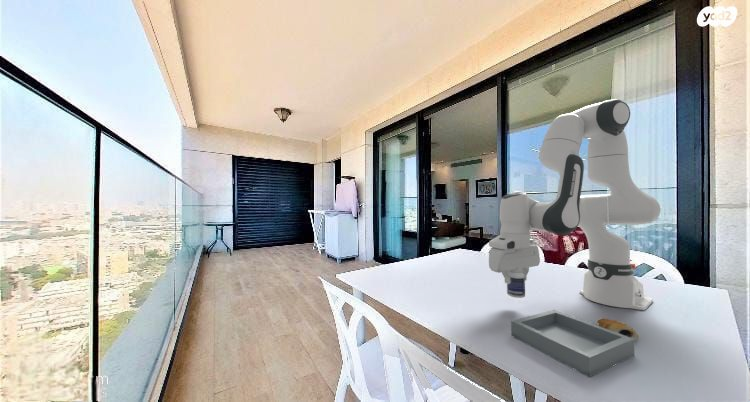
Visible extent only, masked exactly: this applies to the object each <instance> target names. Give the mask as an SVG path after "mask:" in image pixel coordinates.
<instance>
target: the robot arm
mask: <svg viewBox="0 0 750 402" xmlns="http://www.w3.org/2000/svg"><path fill="white" fill-rule="evenodd" d="M630 118H631V109H630V107H629V105H628V104H627V103H626V102H625V101H624V100H621V99H618V98H617V99H616V98H615V99H608V100H607V99H606V100H604V101H602V102H598V103H594V104H591V105H586V106H584V107H582V108H580V109H577V110H575V111H573V112H570V113H565V114H561V115H559V116H557V117H555V118H554V119H553V121H552V122H551V124H550V126H548V129H547V131H546V132H545V134H544V138H543V140H542V142H541V146H540V149H539V153H538V159H539V161H540V163H541V164H542V166H544V167H545V168H546V169H549V170H551V171H553V172H557V173H558V175H559V180H558V187H557V188H558V189H557V193H556V194H557V195H556V197H555V199H554V200H553V201H551V202H550V201H549V202H547V201H545V202H544V201H543V202H542V201H539V200H535V199H533V198H531V197H530V196H528V194H527V193H526V192H523V191H522V192H521V191H520V192H512V193H508V194H507V193H506V194H505V195H503V196H502V197H501V200H500V203H499V221H500V228H499V229H500V230H499V231H500V232H499V235H497V236H496V237H493V238H492V239H490V240H489V242H488V246H489V247H490V249H489V252H488V268H489V269H490V271H492V272H495V273H498V274H499V273H501V274H502V277H503V278H504V283H505V284H506V285H507V284H511V283H512V278H510V276H509V274H510V271H512V270H517V269H519V268H522V272H521V273H523V274H524V275H525V282H526V281H527V280H528V279H527V278H528V277H527V276H528V273H529V271H530V268H532V267H533V268H534V267H538V266H539V265H540V263H541V257H540V251H539V247H538V246H537V242H536V240H535V239H533V238H531V231H530V230H534V231H540V232H546V233H550V234H554V235H558V236H567V235H570V234H571V233H573V232H574V231H575V230H576V229H577V228H578V227H579V228H580V229H581V231H583V233H584V235H585V237H586V240H587V244H588V245H587V246H588V260H587V263H586V264H587V265H586V266H587V269H588V271H586V272H585V273H584V276H583V287H582V289H579V294H581V295H583V296H584V298H585V299H587V300H588V301H592V302H595V303H597V304H601V305H604V306H605V305H606V306H609V307H615V308H622V309H634V310H640V311H645V310H647V308H648V307H649V306H650V305H651V304H652V303H653V302H654V299H653V298H652V297H650V296H646V295H645V294H644V284H643V283H642V282H641V281H640V280H639V279H637V277H636V276H634V273H635V272H634V270H636V269H637V267H636V263H631V259H630V258H631V254H630V253H631V246H630V242H629V241H628V240H627V239H626V238H624V237H622V236H621V235H618V234H616V233H613V232H611V231H609V230H608V229H606V228H607V227H606V225H624V226H626V225H627V226H637V225H645V224H652V223H654V222H655V221H656V220H657V219H658V218H659V216H660V214H661V205H660V203H659V201H658V200H657V199H656V198H655V197H653V196H652V195H649V194H648V193H646V192H644V191H643V190H642V189H640V188H639V186H637V185H636V184H635V183H634V180H633V179H632V177H631V173H630V166H629V146H628V140H627V136H626V131H625V127H627V125H628V124H629V123H628V122H629V121H630ZM583 140H587V141H588V146H587V156H586V157H587V178H588V179H589V180H590V181H591V182H592V183H595V184H597V185H600V186H602V187H603V186H604V187H605V188H608V189H609V190H610V193H608V194H584V195H583V194H582V188H583V180H584V171H585V166H584V160H583V159H582V157H580V149H581V147H582V146H581V145H582V143H583ZM581 194H582V195H581Z"/></svg>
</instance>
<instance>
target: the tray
mask: <svg viewBox="0 0 750 402" xmlns="http://www.w3.org/2000/svg"><path fill="white" fill-rule="evenodd" d="M510 325H511V326H510V336H511V337H513V338H515V339H516V340H519V341H520V342H522V343H524V344H526V345H527V346H530V347H532V348H533V349H536V350H537V351H539V352H541V353H543V354H545V355H546V356H548V355H549V357H550V356H551V357H550V358H553V359H554V360H557V361H558V362H561V363H562V364H564V365H565V364H566V366H567V365H568V366H567V367H569V366H570V367H569V368H571V369H573V368H574V369H573V370H575V369H576V370H575V371H577V372H579V373H581V374H583V375H584V374H585V376H586V375H587V377H588V378H591V377H593V376H596V375H597V374H600V373H601V372H604V371H606V370H608V369H611V368H613V367H614V366H613V365H615V364H617V363H619V364H621V363H623V362H625V361H627V360H630V359H632V358H633V357H635V341H634V339H633V338H630V337H628V336H625V335H622V334H619V333H617V332H614V331H611V330H608V329H606V328H603V327H600V326H599V325H597V324H594V323H592V322H589V321H585V320H583V319H581V318H578V317H574V316H572V315H569V314H567V313H564V312H561V311H558V310H555V309H551V310H547V311H544V312H539V313H536V314H532V315H529V316H525V317H521V318H517V319H514V320H511V321H510ZM617 365H618V364H617ZM612 366H613V367H612ZM615 366H616V365H615Z"/></svg>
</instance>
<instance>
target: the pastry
mask: <svg viewBox="0 0 750 402" xmlns="http://www.w3.org/2000/svg"><path fill="white" fill-rule="evenodd" d="M597 324H598V325H597V326H600V327H603V328H606V329H608V330H611V331H614V332H617V333H619V334H622V335H625V336H628V337H630V338H633V339H634V342H635V341H637V340H638V339H639V334H638V332H637V331H636V330H635V329H633V328H632V327H631V326H628V324H627V323H624V322H621V321H618V320H616V319H615V320H614V319H608V318H604V317H602V318H598V319H597Z"/></svg>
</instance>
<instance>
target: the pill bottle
mask: <svg viewBox="0 0 750 402" xmlns="http://www.w3.org/2000/svg"><path fill="white" fill-rule="evenodd" d="M521 272H522V268H519V269H517V270H512V271H510V274H509V276H510V278H512V283H511V284H506V294H507V295H508V296H509V297H512V298H515V299H519V298H520V299H523V298H525V297H526V281H525V275H524V274H523V273H521Z"/></svg>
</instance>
